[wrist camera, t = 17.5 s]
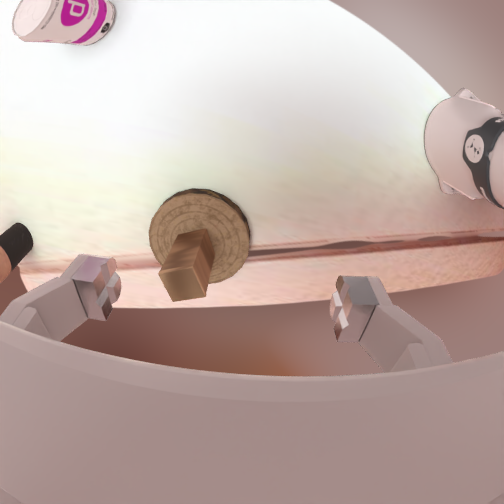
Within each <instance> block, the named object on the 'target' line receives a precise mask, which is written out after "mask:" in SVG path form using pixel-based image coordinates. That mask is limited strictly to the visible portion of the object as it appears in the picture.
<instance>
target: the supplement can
mask: <svg viewBox="0 0 504 504" xmlns="http://www.w3.org/2000/svg"><path fill="white" fill-rule="evenodd" d="M114 15H115V12H114V6H113V5H112V4H111V2H110V1H107V0H21V2H20V3H19V4H18V6H17V9H16V11H15V13H14V16H13V20H12V30H13V33H14V35H16V36H18V37H19V38H20V39H21V40H23V41H25V42H50V43H64V44H75V45H89V44H92V43H95V42H96V41H98V40H99V39H101V38H102V37H103V36H104V35H105V34H106V32H107V31H108V30H109V28H110V26H111V25H112V23H113V19H114Z"/></svg>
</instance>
